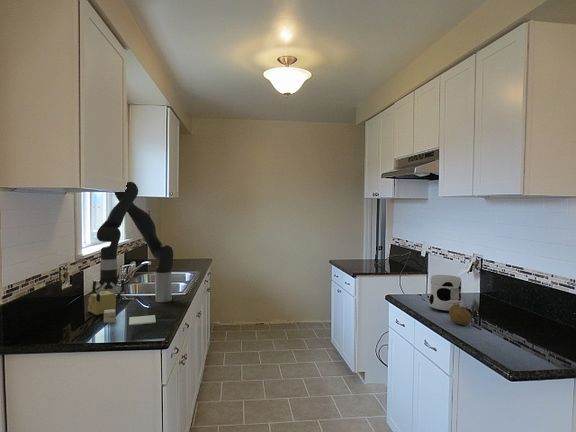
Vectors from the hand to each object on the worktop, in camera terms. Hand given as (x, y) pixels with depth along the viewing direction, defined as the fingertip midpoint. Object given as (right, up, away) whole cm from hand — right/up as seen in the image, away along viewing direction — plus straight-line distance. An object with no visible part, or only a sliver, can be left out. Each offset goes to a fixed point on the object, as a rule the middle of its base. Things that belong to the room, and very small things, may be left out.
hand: (108, 301), depth 193 cm
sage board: (+16, -10, +1) cm, 19 cm away
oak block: (0, -10, 0) cm, 10 cm away
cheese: (-11, -10, +17) cm, 23 cm away
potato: (+171, -11, -2) cm, 172 cm away
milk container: (+174, -10, +24) cm, 176 cm away
